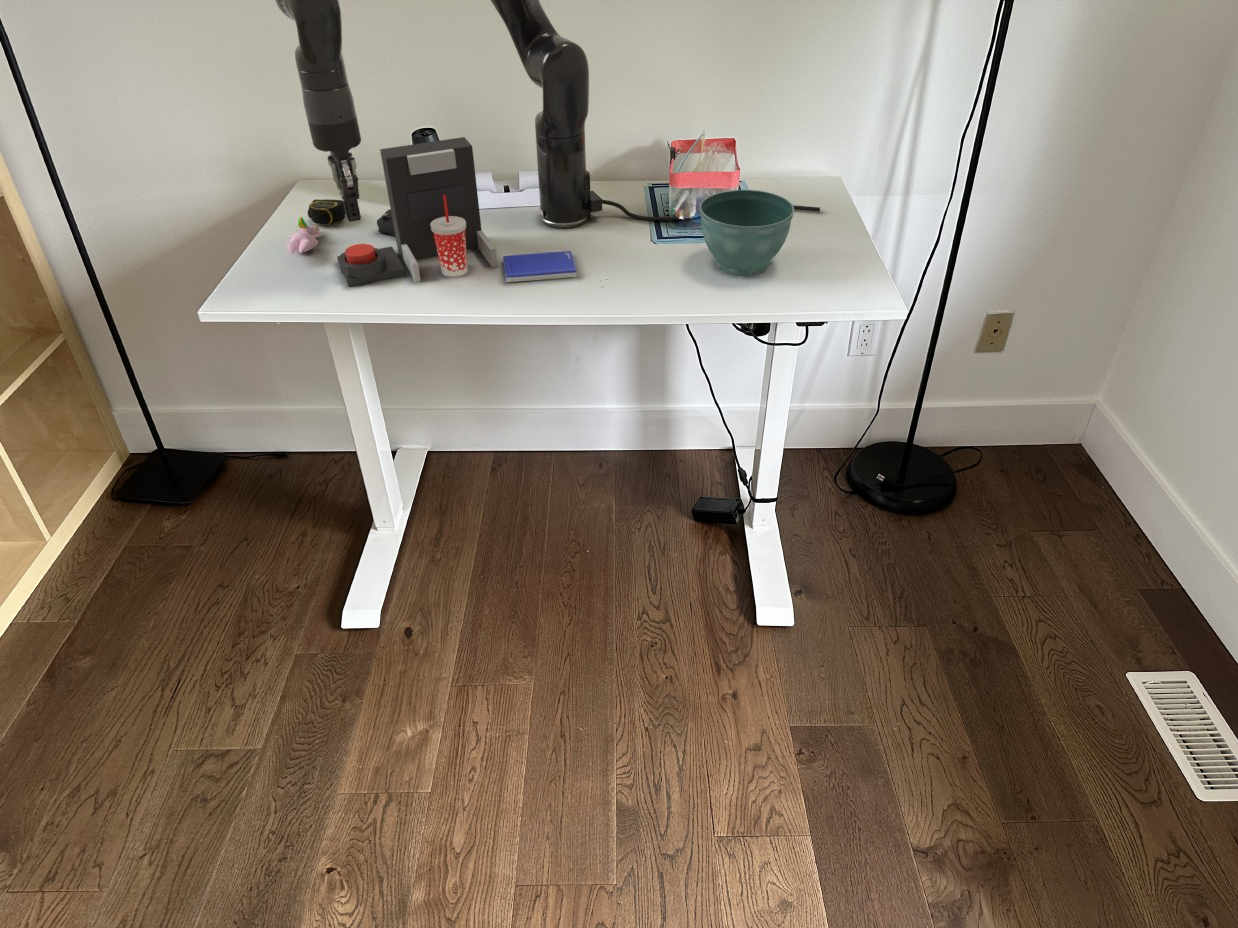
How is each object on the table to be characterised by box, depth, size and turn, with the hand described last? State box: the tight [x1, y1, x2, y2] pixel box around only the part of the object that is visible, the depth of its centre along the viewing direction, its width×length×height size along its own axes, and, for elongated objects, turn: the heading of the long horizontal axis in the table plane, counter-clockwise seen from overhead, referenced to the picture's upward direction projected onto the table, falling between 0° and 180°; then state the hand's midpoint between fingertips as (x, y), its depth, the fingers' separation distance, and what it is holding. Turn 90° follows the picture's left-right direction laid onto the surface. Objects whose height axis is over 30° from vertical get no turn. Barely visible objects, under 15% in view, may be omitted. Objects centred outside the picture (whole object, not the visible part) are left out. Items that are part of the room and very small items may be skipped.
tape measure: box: [307, 199, 346, 226], centre depth 171 cm, size 7×7×4 cm
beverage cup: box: [430, 194, 469, 278], centre depth 150 cm, size 6×6×14 cm
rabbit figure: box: [286, 216, 324, 255], centre depth 160 cm, size 6×6×15 cm
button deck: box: [336, 246, 406, 288], centre depth 154 cm, size 10×10×4 cm
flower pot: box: [699, 189, 795, 276], centre depth 153 cm, size 16×16×11 cm
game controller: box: [376, 208, 396, 237], centre depth 168 cm, size 10×5×6 cm
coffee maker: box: [379, 136, 498, 283], centre depth 153 cm, size 15×14×19 cm
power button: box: [344, 243, 376, 264], centre depth 151 cm, size 5×5×2 cm
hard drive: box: [502, 250, 578, 283], centre depth 154 cm, size 2×8×12 cm
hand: (354, 219), depth 147 cm, fingers closed
